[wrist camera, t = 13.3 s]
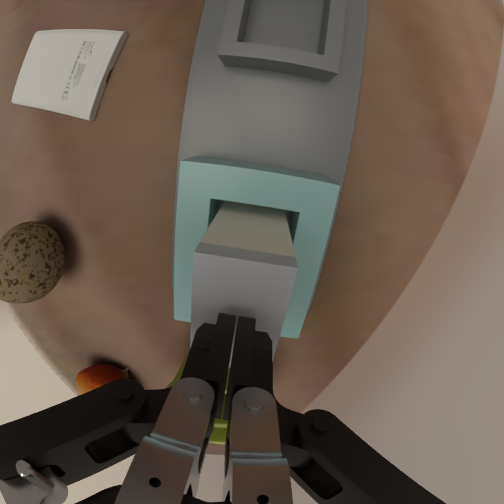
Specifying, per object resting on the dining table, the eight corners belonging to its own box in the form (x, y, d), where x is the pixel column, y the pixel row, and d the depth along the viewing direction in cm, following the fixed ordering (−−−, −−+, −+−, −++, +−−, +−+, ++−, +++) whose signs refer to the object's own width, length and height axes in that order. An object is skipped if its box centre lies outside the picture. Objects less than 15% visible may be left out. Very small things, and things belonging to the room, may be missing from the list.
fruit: (160, 404, 30) (118, 441, 24) (128, 379, 34) (91, 410, 29) (134, 362, 27) (82, 402, 21) (104, 339, 31) (60, 370, 26)
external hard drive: (45, 33, 14) (131, 35, 16) (20, 103, 17) (97, 121, 19) (36, 30, 13) (123, 29, 14) (10, 103, 16) (87, 121, 17)
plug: (228, 195, 20) (193, 251, 10) (283, 204, 20) (298, 268, 10) (219, 269, 22) (190, 360, 13) (269, 277, 22) (269, 372, 13)
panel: (216, -26, 13) (205, -57, 8) (364, -3, 13) (385, -29, 8) (174, 286, 24) (156, 319, 19) (307, 306, 24) (314, 343, 20)
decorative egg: (26, 240, 23) (-33, 281, 14) (47, 196, 21) (-27, 231, 12) (64, 285, 25) (11, 339, 16) (90, 246, 23) (23, 302, 14)
